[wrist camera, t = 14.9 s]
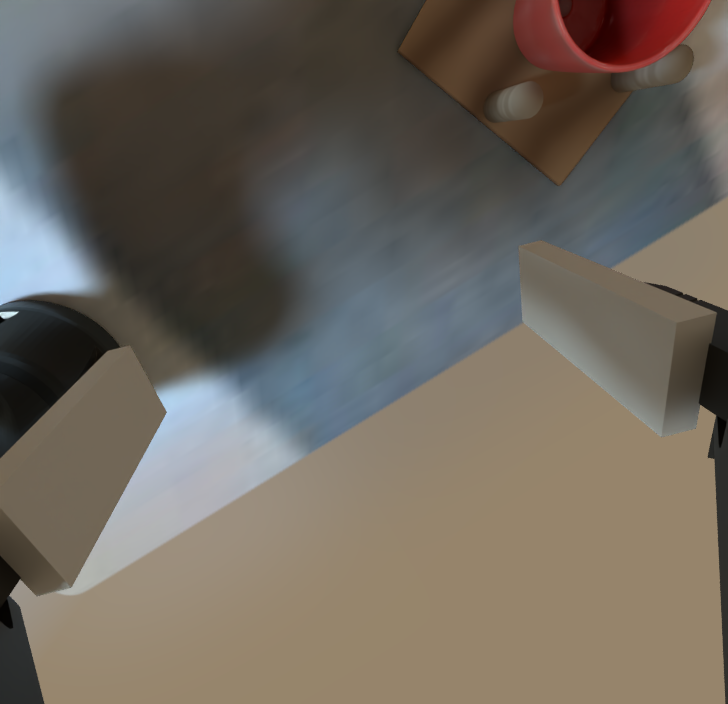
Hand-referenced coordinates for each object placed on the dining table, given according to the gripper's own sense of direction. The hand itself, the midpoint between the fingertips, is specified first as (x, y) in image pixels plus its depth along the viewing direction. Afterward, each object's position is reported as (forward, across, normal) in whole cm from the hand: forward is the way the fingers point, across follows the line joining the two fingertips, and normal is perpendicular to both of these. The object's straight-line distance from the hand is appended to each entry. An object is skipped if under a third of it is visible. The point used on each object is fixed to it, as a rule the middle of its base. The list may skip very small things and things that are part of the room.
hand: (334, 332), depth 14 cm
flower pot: (+28, +23, +10) cm, 37 cm away
